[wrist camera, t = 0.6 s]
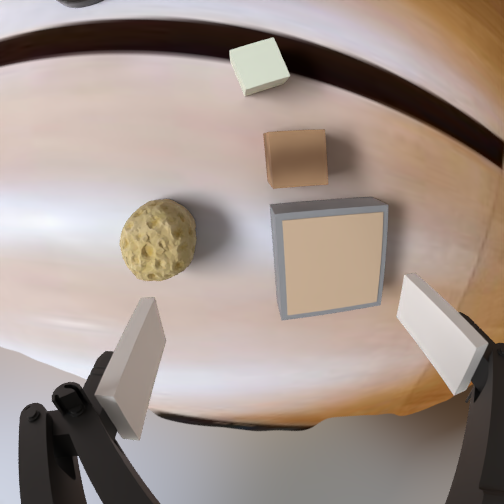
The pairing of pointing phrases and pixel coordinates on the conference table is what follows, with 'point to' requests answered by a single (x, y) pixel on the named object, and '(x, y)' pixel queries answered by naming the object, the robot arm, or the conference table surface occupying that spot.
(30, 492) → the robot arm
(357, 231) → the plinth
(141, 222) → the decorative item
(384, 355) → the conference table surface
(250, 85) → the sage cube
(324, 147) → the walnut cube
